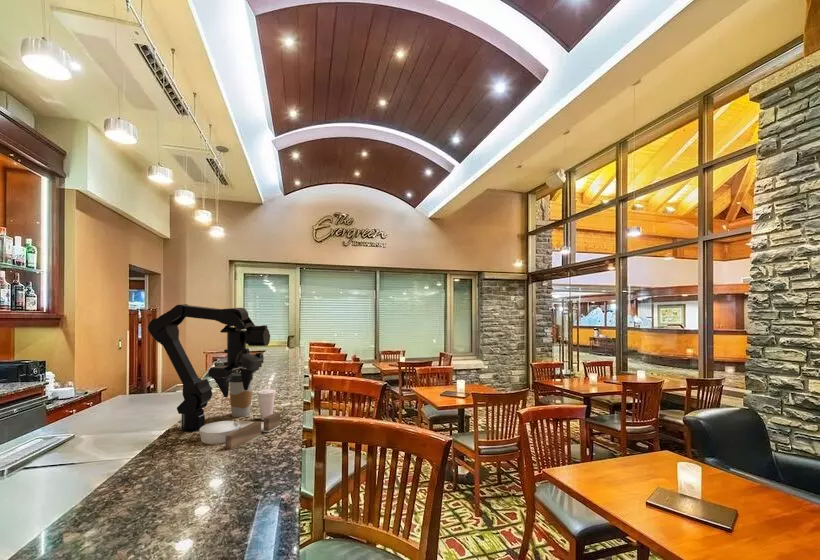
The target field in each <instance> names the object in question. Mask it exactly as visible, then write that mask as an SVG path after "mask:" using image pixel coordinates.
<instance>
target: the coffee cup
mask: <svg viewBox="0 0 820 560" xmlns="http://www.w3.org/2000/svg"><path fill="white" fill-rule="evenodd" d="M230 376H233V377H232V378H231V379H230V381H229V400H230V401H229V402H230V410H231V411H230V413H231V415H232V417H234V418H241V417H242V418H243V417H246V416H249V415H250V413H251V406H252V405H251V404H252V393H253V390H252V389H253V379H254V378H253V377H254V376H252V379H251V381H250V384H249V387H248V390H244V387H243V382H242V377H241V372H240V371H235V372H232V374H231V375H230Z"/></svg>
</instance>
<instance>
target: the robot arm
mask: <svg viewBox="0 0 820 560" xmlns="http://www.w3.org/2000/svg"><path fill="white" fill-rule="evenodd" d="M186 318H192V319H193V318H194V319H200V320H201V319H202V320H210V321H215V322H219V323H221V324H223V325H225V326H224V327H223V328H222V329H221V330H220V333H221V334H223V333H226V339H227V340H226V348H225V349H224V350H223V353H224V354H226V361H224V362H223V365H215V366H212V367H210V368H209V369H208V373H207V374H208V377H210V378H211V379H213V380H214V381H215V383H216V384H217V386H218V388H219V390H220V391H221V394H222V395H223V398H228V397H229V394H230V384H229V381H230V379H231V378H232V377H233V376H230V375H231V374H232V373H233V372H236V371H238V370H239V372H241V377H242V382H243V387H244V390H248V387H249V384H250V381H251V379H252V376H253V375H254V374H255V373H256V372H257V371H258V370H260V368H261V367H262V366H263V364H264V361H265V359H264V353H262V352H257V353H253V354H252V353H250V349H249V348H247V345H248V346H249V347H268V346H269V345H270V340H271V333H270V330H269V329H268V325H266V324H265V325H255V323H254V322H253V320H252V319H251V318H250V316H249V313H248V311H247V309H246V308H244V307H230V308H215V307H207V306H206V307H205V306H199V305H198V306H197V305H192V304H191V305H189V304H185V303H184V304H177V305H175V306H174V307H172V308H171V309H170V310H168V311H167V312H165V313H163V314H161V315H159V316H158V317H157V318H154V319H152V320H151V321H150V322H149V323H148V326H147V331H148V333H149V334H150V335H151V337H152V338H153V339H154V341H156V343H158V344H160V345H161V346H162V347H163V349H164V350H165V352H166V355H167V356H168V358H169V360H170V362H171V364H172V366H173V369H174V370H175V372H176V374H177V376H178V378H179V380H180V382H181V384H182V397H183V401H182V402H181V403H180V404H178V406H177V407H176V410H177V412H178V413H177V414H179V415H181V427H180V428H177V431H179V430H180V431H181V432H186V433H196V432H198V431H199V429H200V428H201V427H202V426H204V425H206V423H205V422H206V421H205V419H206V416H205V409H203V408H205V407H207V406H208V403H209V402H210V401H211V399H212V396H213V391H212V390H213V387H212V386H211V384H210V382H209V380H208V378H204V379H201V378H200V377H199V376H198V374H197V372H196V370H195V368H194V367H193V365H192V362H191V361H190V359H189V356H188V355H187V353H186V351H185V349H184V347H183V345H182V344H181V341H180V337H179V335H180V330H179V325H181V324H182V323H183V322H184V320H185V319H186ZM253 377H254V376H253ZM180 431H179V432H180Z"/></svg>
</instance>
